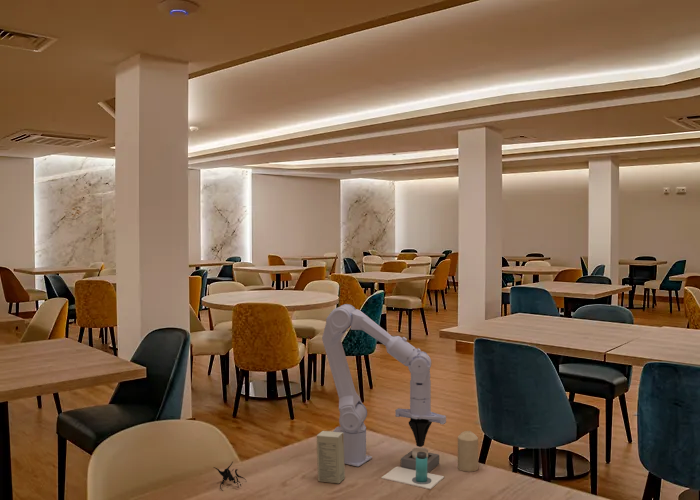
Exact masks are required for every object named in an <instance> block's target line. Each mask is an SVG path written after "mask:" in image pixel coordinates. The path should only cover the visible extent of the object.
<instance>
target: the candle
mask: <svg viewBox="0 0 700 500" xmlns="http://www.w3.org/2000/svg"><path fill="white" fill-rule="evenodd" d="M457 468H458V470H460V471H463V472H467V473H472V472H476V471H478V470H479V437H478V436H477V434H475V433H474V432H473V431H471V430H464V431H462V432H461V433H460V434H459V435H458V436H457Z"/></svg>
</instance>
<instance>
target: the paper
mask: <svg viewBox="0 0 700 500" xmlns="http://www.w3.org/2000/svg"><path fill="white" fill-rule="evenodd" d="M444 478H445V476H443V475H440V474H434V473H430V472H429V473H427V482H423V483H421V482H417V481H416V470H412V469H407V468H402V467H401V466H395V467H394V468H392V469H391V470H389V471H388V472H387V473H385V474H384V475H383V476H381V479H383V480H387V481H392V482H395V483H400V484H405V485H408V486H413V487H418V488H422V489H426V490H431V489H433V488H434V487H435V486H436V485H437V484H439V483H440V482H441V481H442V480H443V479H444Z"/></svg>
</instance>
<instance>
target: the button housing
mask: <svg viewBox="0 0 700 500" xmlns="http://www.w3.org/2000/svg"><path fill="white" fill-rule="evenodd" d="M439 465H440V454H439V453H433V452H429V451H428V459H427V473H430V472H431V471H432V470H434V469H435V468H436V467H437V466H439ZM400 467H402V468H407V469H412V470H416V459H413V458H412V450H410V451H409V452H408V453H406V454H405V455H403V456H402V457H400Z"/></svg>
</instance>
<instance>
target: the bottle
mask: <svg viewBox="0 0 700 500" xmlns="http://www.w3.org/2000/svg"><path fill="white" fill-rule="evenodd" d="M416 481H417V482H421V483H423V482H427V456H426V453H425V452H418V453H417V456H416Z"/></svg>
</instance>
